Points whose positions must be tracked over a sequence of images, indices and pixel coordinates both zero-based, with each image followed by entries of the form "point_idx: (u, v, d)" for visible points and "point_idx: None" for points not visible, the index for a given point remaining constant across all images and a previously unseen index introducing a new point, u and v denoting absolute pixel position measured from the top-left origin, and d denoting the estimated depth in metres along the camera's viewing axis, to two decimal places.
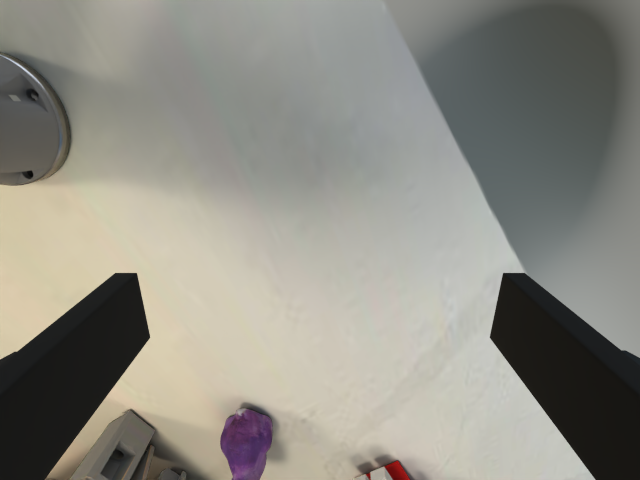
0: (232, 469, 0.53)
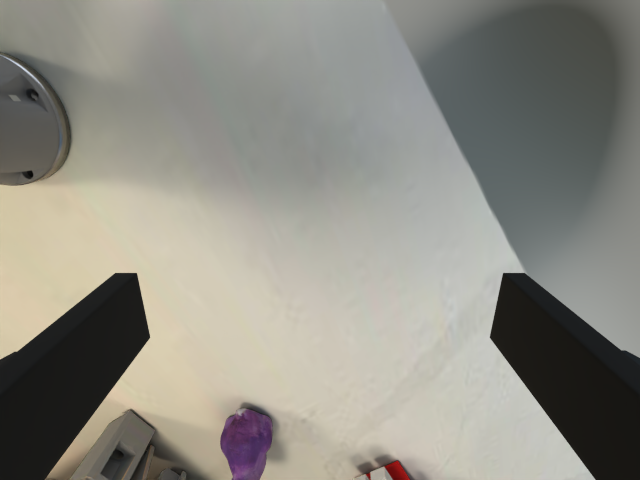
0: (232, 469, 0.53)
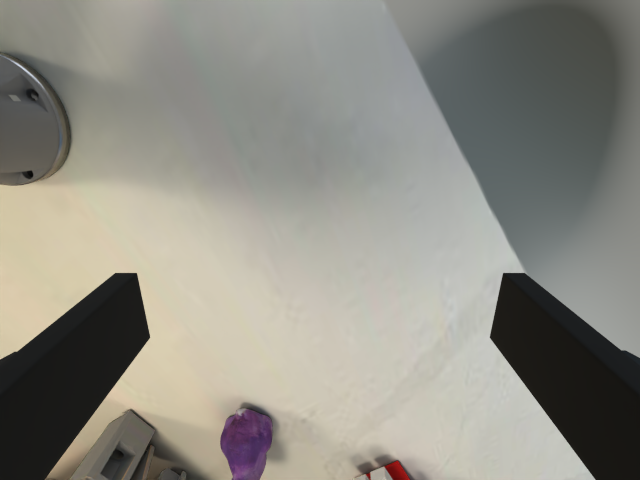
0: (232, 469, 0.53)
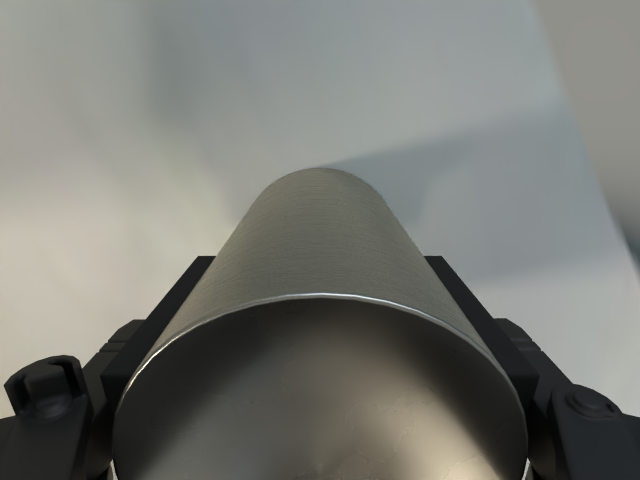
0: None
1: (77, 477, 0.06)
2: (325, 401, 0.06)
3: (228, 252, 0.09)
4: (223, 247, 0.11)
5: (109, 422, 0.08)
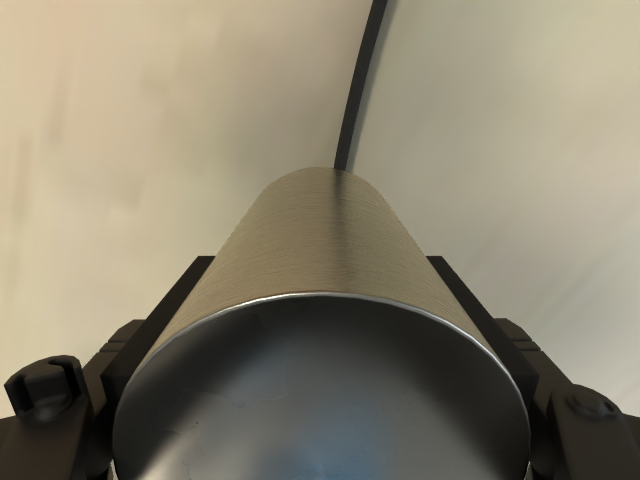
0: None
1: (77, 477, 0.06)
2: (326, 400, 0.06)
3: (229, 251, 0.09)
4: (224, 246, 0.11)
5: (109, 422, 0.08)
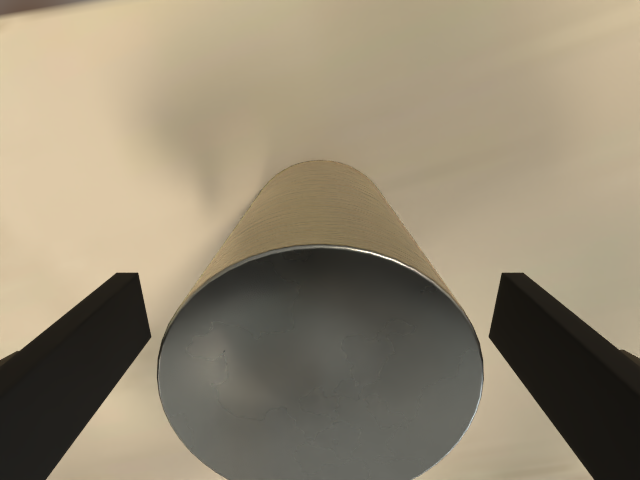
0: None
1: None
2: (324, 332, 0.08)
3: (244, 225, 0.11)
4: (237, 225, 0.12)
5: None
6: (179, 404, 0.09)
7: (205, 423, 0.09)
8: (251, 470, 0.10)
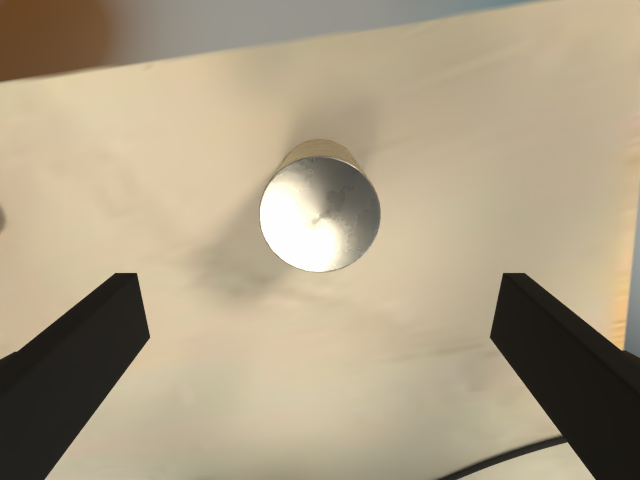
0: None
1: None
2: (321, 189, 0.22)
3: (287, 160, 0.25)
4: (281, 164, 0.27)
5: None
6: (266, 222, 0.23)
7: (275, 231, 0.23)
8: (292, 254, 0.24)
